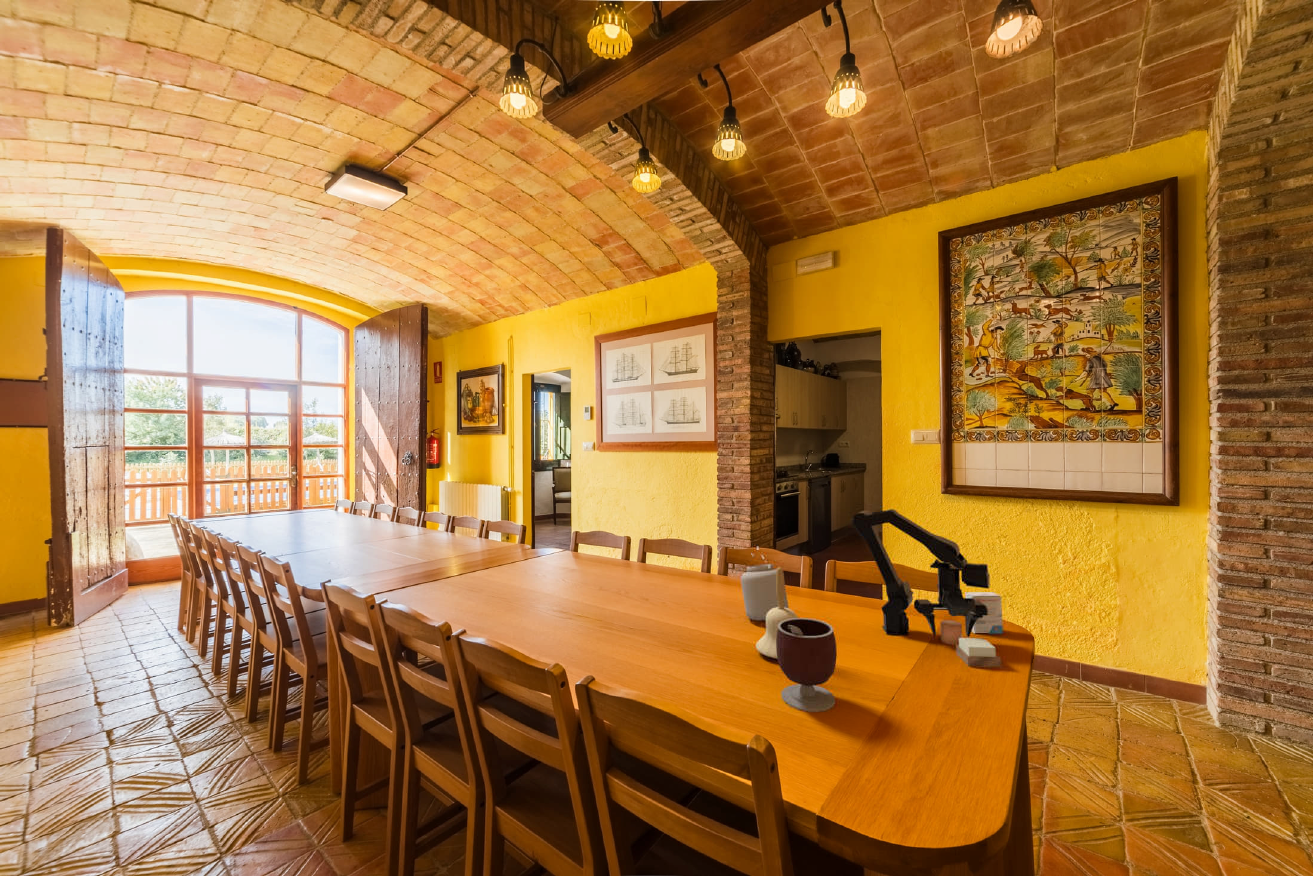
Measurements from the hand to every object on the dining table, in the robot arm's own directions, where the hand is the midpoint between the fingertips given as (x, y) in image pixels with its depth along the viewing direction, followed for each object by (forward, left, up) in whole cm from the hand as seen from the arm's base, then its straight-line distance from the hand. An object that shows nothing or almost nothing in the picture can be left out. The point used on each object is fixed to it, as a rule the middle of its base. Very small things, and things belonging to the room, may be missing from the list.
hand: (951, 635), depth 155 cm
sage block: (+2, -14, +1) cm, 14 cm away
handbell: (-50, -14, -2) cm, 52 cm away
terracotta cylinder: (0, 0, -2) cm, 2 cm away
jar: (-55, +16, -2) cm, 57 cm away
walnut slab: (+2, -14, -2) cm, 14 cm away
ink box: (+13, +10, -2) cm, 17 cm away
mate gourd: (-46, -41, -2) cm, 62 cm away
